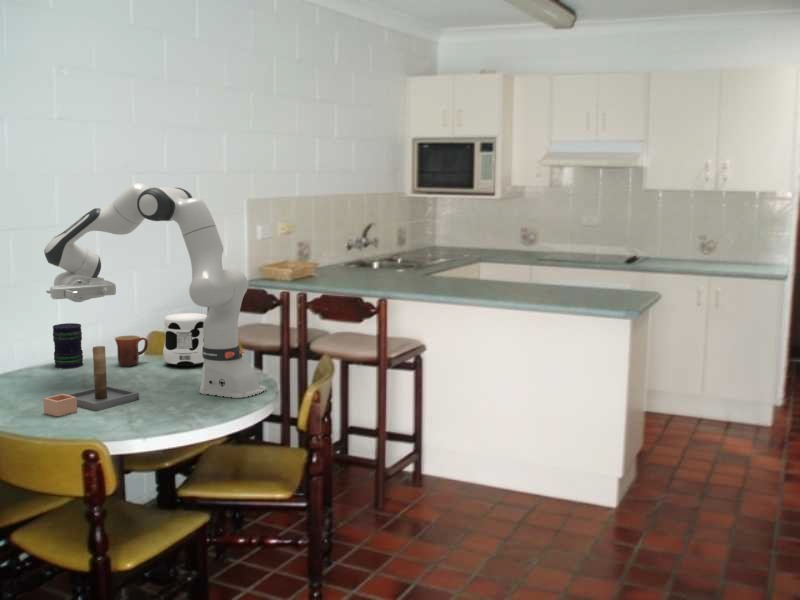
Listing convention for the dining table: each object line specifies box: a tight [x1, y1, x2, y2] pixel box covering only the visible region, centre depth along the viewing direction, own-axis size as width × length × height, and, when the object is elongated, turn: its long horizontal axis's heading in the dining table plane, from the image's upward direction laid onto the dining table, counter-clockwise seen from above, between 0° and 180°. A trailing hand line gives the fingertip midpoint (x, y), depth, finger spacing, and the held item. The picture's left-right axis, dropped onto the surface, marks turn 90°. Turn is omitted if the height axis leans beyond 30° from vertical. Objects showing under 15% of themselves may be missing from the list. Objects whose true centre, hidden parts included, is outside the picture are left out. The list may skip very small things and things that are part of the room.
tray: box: [66, 385, 140, 412], centre depth 266 cm, size 16×16×2 cm
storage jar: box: [52, 322, 84, 370], centre depth 312 cm, size 10×10×15 cm
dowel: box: [92, 345, 108, 399], centre depth 265 cm, size 4×4×16 cm
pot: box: [42, 393, 78, 418], centre depth 253 cm, size 7×7×4 cm
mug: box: [114, 335, 149, 367], centre depth 316 cm, size 12×9×10 cm
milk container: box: [162, 312, 208, 367], centre depth 316 cm, size 17×17×18 cm
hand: (90, 293), depth 274 cm, fingers open, 8 cm apart
